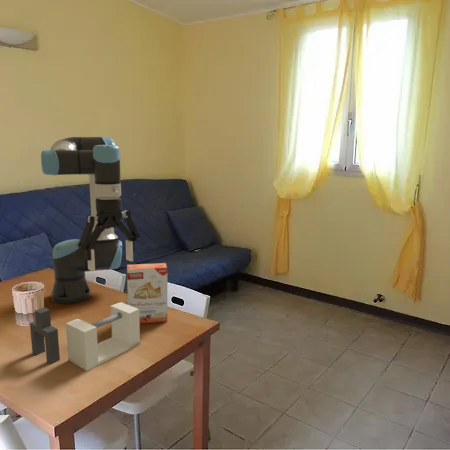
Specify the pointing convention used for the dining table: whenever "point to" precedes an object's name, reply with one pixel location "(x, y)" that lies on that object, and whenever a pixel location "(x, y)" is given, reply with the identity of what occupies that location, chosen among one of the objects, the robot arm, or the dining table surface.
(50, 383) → the dining table surface
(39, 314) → the grey zigzag block
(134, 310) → the cream rod holder
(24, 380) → the dining table surface
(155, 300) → the cracker box
